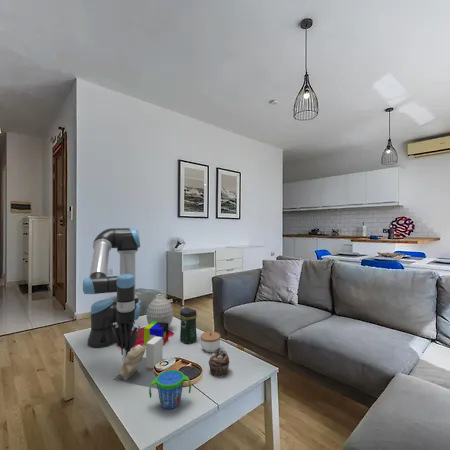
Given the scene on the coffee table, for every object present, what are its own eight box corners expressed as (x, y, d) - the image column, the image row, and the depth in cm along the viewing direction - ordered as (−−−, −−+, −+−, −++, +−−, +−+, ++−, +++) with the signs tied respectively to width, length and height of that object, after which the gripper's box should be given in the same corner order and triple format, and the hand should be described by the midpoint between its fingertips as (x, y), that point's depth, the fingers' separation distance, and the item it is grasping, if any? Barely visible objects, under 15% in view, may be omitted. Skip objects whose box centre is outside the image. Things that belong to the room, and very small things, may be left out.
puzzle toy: (161, 347, 151) (160, 329, 151) (144, 346, 153) (144, 328, 153) (168, 340, 161) (168, 322, 161) (152, 338, 163) (152, 321, 163)
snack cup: (146, 414, 100) (146, 386, 100) (152, 395, 110) (152, 370, 110) (190, 412, 101) (190, 384, 101) (191, 393, 112) (191, 368, 111)
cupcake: (231, 368, 131) (231, 347, 131) (226, 379, 121) (226, 356, 121) (212, 365, 133) (212, 344, 133) (205, 376, 124) (205, 353, 124)
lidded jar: (208, 356, 141) (208, 338, 141) (196, 349, 150) (196, 332, 149) (224, 350, 148) (224, 333, 148) (212, 343, 156) (212, 327, 156)
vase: (174, 334, 169) (174, 297, 168) (146, 337, 164) (146, 299, 164) (172, 324, 184) (172, 291, 184) (146, 327, 180) (146, 292, 180)
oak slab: (118, 375, 121) (127, 352, 119) (130, 366, 128) (138, 344, 127) (125, 380, 120) (135, 357, 118) (136, 371, 127) (145, 348, 126)
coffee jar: (199, 341, 159) (199, 309, 159) (187, 345, 154) (187, 312, 153) (188, 336, 166) (188, 305, 166) (177, 340, 161) (177, 308, 160)
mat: (112, 380, 120) (112, 379, 120) (140, 357, 141) (140, 356, 141) (166, 391, 113) (166, 390, 113) (187, 365, 133) (187, 364, 133)
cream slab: (146, 368, 129) (146, 343, 129) (155, 360, 137) (155, 336, 137) (153, 370, 128) (153, 344, 128) (162, 361, 136) (162, 337, 136)
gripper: (107, 311, 122) (108, 364, 122) (133, 314, 118) (133, 369, 118) (119, 306, 129) (119, 356, 129) (143, 308, 125) (143, 360, 126)
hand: (126, 362), depth 124 cm, fingers closed
